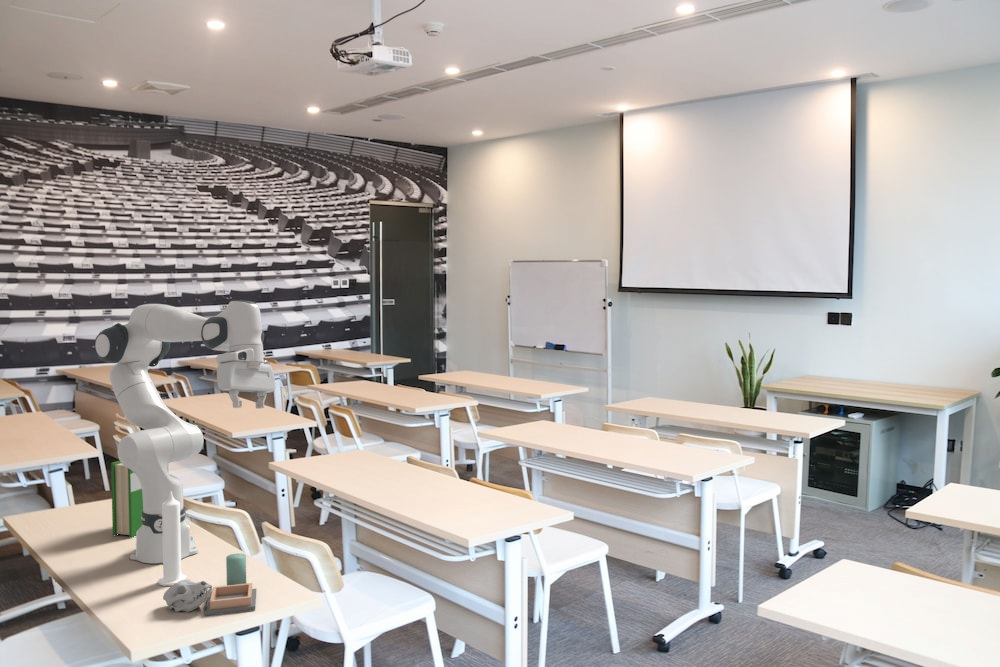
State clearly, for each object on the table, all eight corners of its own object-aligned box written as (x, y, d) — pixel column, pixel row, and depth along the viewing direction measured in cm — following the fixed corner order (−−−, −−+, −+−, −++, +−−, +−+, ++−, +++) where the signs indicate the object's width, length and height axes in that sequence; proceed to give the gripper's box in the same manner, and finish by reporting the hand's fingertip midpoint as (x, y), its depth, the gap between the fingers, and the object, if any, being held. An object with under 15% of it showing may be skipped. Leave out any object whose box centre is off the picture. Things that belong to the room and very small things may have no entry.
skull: (172, 589, 193) (203, 560, 191) (192, 617, 191) (223, 588, 189) (151, 599, 185) (183, 569, 183) (172, 628, 183) (204, 598, 182)
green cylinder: (227, 583, 203) (226, 554, 203) (246, 581, 205) (246, 552, 204) (226, 590, 199) (225, 560, 198) (245, 588, 200) (245, 558, 200)
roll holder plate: (209, 597, 194) (209, 585, 194) (256, 592, 197) (256, 581, 197) (205, 615, 183) (205, 603, 183) (255, 610, 186) (255, 598, 186)
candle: (176, 587, 200) (174, 495, 199) (152, 585, 202) (150, 494, 200) (191, 577, 207) (190, 488, 206) (169, 575, 209) (167, 487, 207)
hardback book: (131, 538, 240) (130, 464, 239) (112, 536, 242) (111, 463, 241) (169, 521, 257) (168, 453, 256) (151, 520, 259) (150, 451, 258)
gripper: (261, 362, 215) (263, 410, 213) (211, 356, 196) (213, 408, 194) (279, 359, 213) (282, 407, 211) (231, 352, 194) (233, 405, 192)
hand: (248, 408), depth 202 cm, fingers open, 8 cm apart
